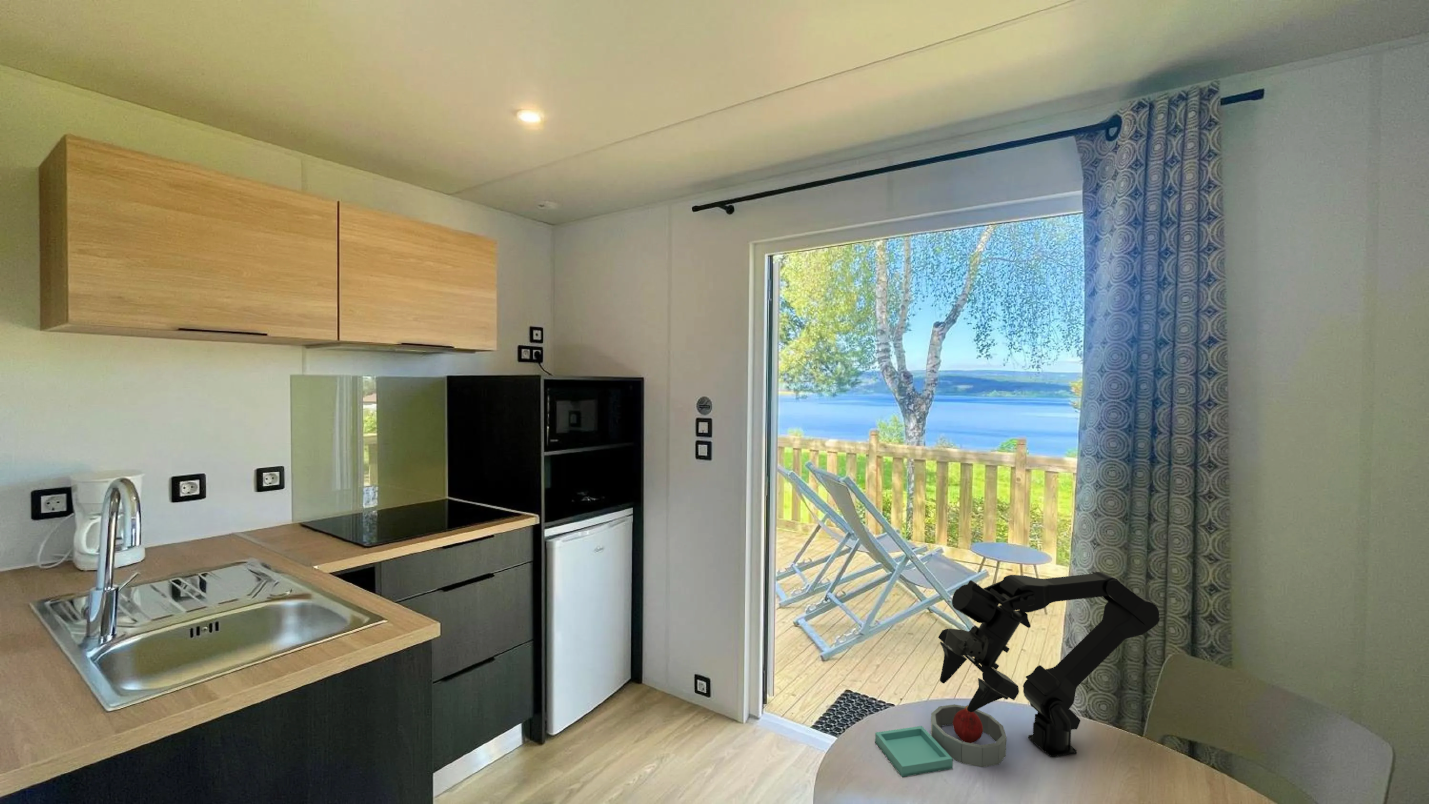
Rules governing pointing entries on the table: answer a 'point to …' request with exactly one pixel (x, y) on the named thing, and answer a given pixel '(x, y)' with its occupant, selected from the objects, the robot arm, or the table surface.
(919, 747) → the tray
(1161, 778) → the table surface
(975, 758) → the ring
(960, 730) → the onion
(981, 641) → the robot arm
